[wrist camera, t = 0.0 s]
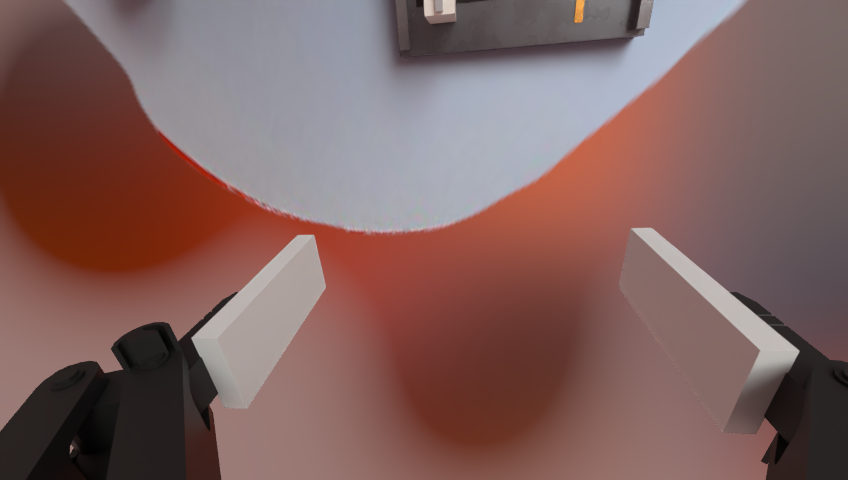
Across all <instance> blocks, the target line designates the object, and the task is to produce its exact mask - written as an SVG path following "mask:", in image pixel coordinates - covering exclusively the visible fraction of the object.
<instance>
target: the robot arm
mask: <svg viewBox="0 0 848 480" xmlns="http://www.w3.org/2000/svg"><path fill="white" fill-rule="evenodd" d="M325 288H326V285H325V280H324V276H323V271H322V267H321V263H320V258H319V254H318V250H317V245H316V241H315V237H314V235H298V236H296V237H295V238H294V239H293V240H292V241H291V242H290V243H289V244H288V245H287V246H286V247H285V248H284V249H283V250H282V251H281V252H280V253H279V254H278V255H277V256H276V257H275V258H274V259H273V260H272V261H270V262H269V263H268V264H267V265H266V267H264V268H263V269H262V270H261V271H260V272H259V273H258V274H257V275H256V276H255V277H254V278H253V279H252V280H251V281H250V282H249V283H248V284H247V285H246V286H245V287H244V288H243V289H242V290H241V291H240V292H235V293H234V294H232V295H231V296H229V297H227V298H225V299H223V300H222V301H221V302H220V303H219V304H218V305H217V306H215V308H213V310H212V312H209V313H208V314H207V315H206V316H205V317H204V319H203V320H201V321H199V322H198V323H197V324H196V325H195V326H194V327H193V328H192V329H191V330H190V331H189V332H188V333H187V334H186V335H184V336H183V337H182V338H181V339H180V340H179V341H177V339H176V337H175V335H174V333H173V331H172V329H171V327H170V325H169V324H168V323H165V322H156V323H151V324H147V325H143V326H141V327H139V328H136V329H134V330H132V331H130V332H128V333H127V334H125V335H123V336H122V337H121V338H120V339H118V340H117V341H116V342H115V343H114V345H113V346H112V348H111V350H112V352H113V353H114V355H115V356H116V358H117V360H118V361H119V363H120V365H121V366H122V368H123V370H118V371H114V372H109V373H104V372H103V370H102V369H101V367H100V366H99V364H98V363H97V362H94V361H86V362H80V363H78V364H74V365H70V366H67V367H66V368H63V369H61V370H59V371H57V372H55V373H54V374H53V375H52V376H50V377H49V378H47V379H46V380H44V381H43V382H42V383H41V384H40V385H39V386H38V387H37V388H36V389H35V390H34V391H33V393H32V394H31V395H30V396H29V397H28V399H27V400H26V401H25V403H23V405H22V406H21V407H20V409H19V410H18V411H17V412H16V413H15V414H14V416H13V417H12V418H11V419H10V420H9V422H8V423H7V424H6V425H5V426H4V428H3V429H2V430H1V431H0V480H221V474H220V466H219V458H218V450H217V442H216V433H215V425H214V418H213V412H212V410H211V408H210V406H209V404H210V403H211V402H212V401H213V399H214V398H215V396H216V395H217V394H218V396H219V398H220V401H221V403H222V405H223V407H224V408H238V409H247V408H248V406H249V405H250V403H251V402H252V400H253V399H254V397H255V396H256V394H257V392H258V391H259V389H260V388H261V387H262V385H263V383H264V382H265V380H266V379H267V377H268V376H269V374H270V373H271V371H272V370H273V368H274V366H275V365H276V363H277V362H278V360H279V359H280V357H281V356H282V354H283V353H284V351H285V350H286V348H287V347H288V345H289V343H290V342H291V340H292V339H293V337H294V336H295V334H296V332H297V331H298V330H299V328H300V327H301V325H302V323H303V322H304V320H305V319H306V317H307V316H308V314H309V313H310V311H311V310H312V308H313V307H314V305H315V303H316V302H317V300H318V299H319V297H320V296H321V294H322V293H323V291H324V290H325ZM619 288H620V290H621V291H622V292H623V294H624V295H625V297H626V298H627V300H628V301H629V302H630V304H631V305H632V307H633V308H634V309H635V311H636V312H637V314H638V315H639V316H640V318H641V319H642V320H643V322H644V323H645V325H646V326H647V328H648V329H649V330H650V332H651V333H652V335H653V336H654V337H655V339H656V340H657V341H658V343H659V344H660V346H661V347H662V348H663V350H664V351H665V353H666V354H667V356H668V357H669V358H670V360H671V361H672V363H673V364H674V365H675V367H676V368H677V370H678V371H679V372H680V374H681V375H682V377H683V378H684V379H685V381H686V382H687V384H688V385H689V386H690V388H691V389H692V390H693V392H694V393H695V395H696V396H697V398H698V399H699V400H700V402H701V403H702V404H703V406H704V407H705V409H706V410H707V411H708V413H709V414H710V416H711V417H712V418H713V420H714V421H715V423H716V424H717V426H718V427H719V428H720V430H721V431H722V433H743V434H756V433H757V431H758V430H759V428H760V426H761V423H762V422H763V420H764V418H766V419H767V420H768V421H769V422H770V424H771V425H772V426H773V427H774V428H775V429H776V430H777V431H778V432H777V434H776V436H775V437H774V439H773V441H772V443H771V444H770V446H769V448H768V450H767V451H766V453H765V455H764V457H763V459H762V460H761V461H762V462H764V463H766V464H768V463H769V464H768V469H767V475H766V480H848V363H847V362H843V361H836V360H829V359H828V358H827V357H826V356H824V355H823V354H822V353H821V352H819V351H818V350H817V349H815V348H814V347H813V346H812V345H810V344H809V343H808V342H807V341H805V340H804V339H802V338H801V337H800V336H799V335H798V334H796V333H795V332H794V331H793V330H791V329H790V328H789V327H787V326H784V323H782V322H781V321H780V320H779V319H777V318H776V317H775V316H772V315H771V313H770V312H768V311H767V310H766V309H764V308H763V307H762V306H761V305H760V304H758V303H757V302H755V301H753V300H751V299H749V298H747V297H745V296H743V295H741V294H739V293H737V292H728V291H727V290H726V289H724V288H723V287H722V286H721V285H720V284H718V283H717V282H716V281H715V280H714V279H712V278H711V277H710V276H709V275H708V274H706V273H705V272H704V271H703V270H701V269H700V268H699V267H698V266H697V265H696V264H694V263H693V262H692V261H691V260H690V259H688V258H687V257H686V256H685V255H684V254H682V253H681V252H680V251H679V250H677V249H676V248H675V247H674V246H673V245H672V244H670V243H669V242H668V241H667V240H665V239H664V238H663V237H662V236H661V235H659V234H658V233H657V232H656V231H655V230H653V229H652V228H631V230H630V234H629V239H628V244H627V249H626V254H625V259H624V263H623V268H622V274H621V278H620V283H619ZM70 445H72V446H73V447H74V449H73V450H72V452H71V454H70Z"/></svg>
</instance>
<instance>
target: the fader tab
mask: <svg viewBox="0 0 848 480" xmlns="http://www.w3.org/2000/svg"><path fill="white" fill-rule="evenodd" d="M424 14H425V18H426V19H427V20H428V22H429V23H430V24H436V23H446V22H456V0H424Z"/></svg>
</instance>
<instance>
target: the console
mask: <svg viewBox="0 0 848 480" xmlns="http://www.w3.org/2000/svg"><path fill="white" fill-rule="evenodd" d="M653 1H654V0H456V22H446V23H436V24H430V23H429V22H428V20H427V19H426V18H425V14H424V0H395V3H396V15H397V26H398V37H399V48H400V57H414V56H425V55H437V54H448V53H460V52H471V51H482V50H494V49H505V48H517V47H528V46H540V45H551V44H563V43H574V42H585V41H597V40H608V39H620V38H631V37H638V36H642V35H644V31H645V28H649V23H650V18H651V12H652V7H653Z"/></svg>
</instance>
